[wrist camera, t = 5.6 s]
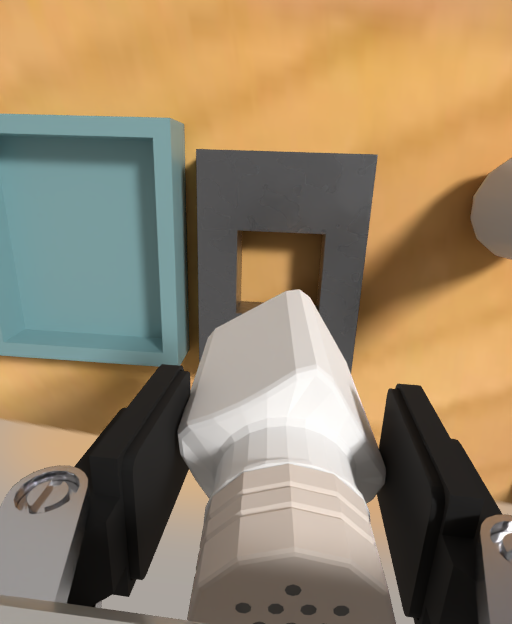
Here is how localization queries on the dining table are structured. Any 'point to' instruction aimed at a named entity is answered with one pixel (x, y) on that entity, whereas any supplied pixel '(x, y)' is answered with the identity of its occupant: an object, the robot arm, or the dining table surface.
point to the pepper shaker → (283, 475)
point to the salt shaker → (494, 211)
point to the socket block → (283, 227)
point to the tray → (93, 239)
